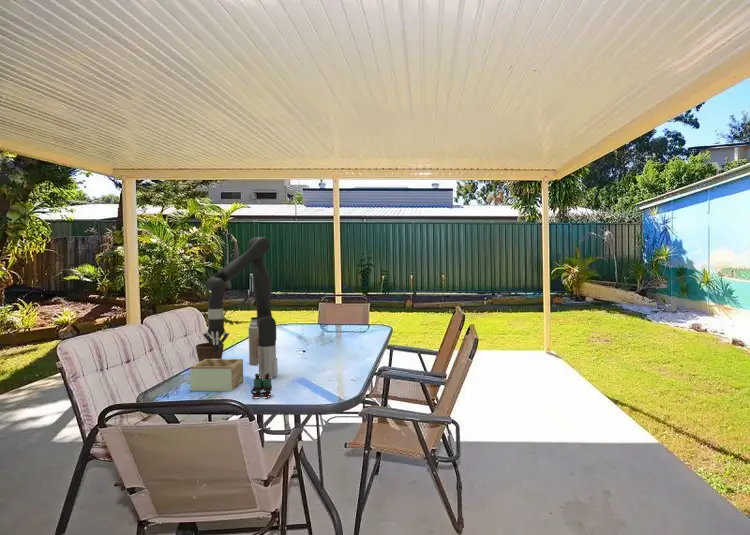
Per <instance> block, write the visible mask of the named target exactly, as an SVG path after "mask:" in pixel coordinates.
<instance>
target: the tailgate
mask: <svg viewBox="0 0 750 535" xmlns="http://www.w3.org/2000/svg"><path fill="white" fill-rule="evenodd" d="M190 385H191V386H190V387H191V389H190V390H191V391H192V392H232V391H233V390H232V371H231V366H194V365H192V366H190Z"/></svg>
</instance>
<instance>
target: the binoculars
mask: <svg viewBox="0 0 750 535" xmlns="http://www.w3.org/2000/svg"><path fill="white" fill-rule="evenodd" d="M259 376H260V375H259V373H255V374H254V379H253V387H252V389H251V390H250V394H251V395H252V398H253V397H259V396H260V397H262V398H263V397H268V396H271V395H272V390H273V387H272V378H269V373H268V374H265V378H263V379H262V378H259ZM269 394H271V395H269ZM261 395H262V396H261Z"/></svg>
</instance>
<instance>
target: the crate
mask: <svg viewBox="0 0 750 535" xmlns="http://www.w3.org/2000/svg"><path fill="white" fill-rule="evenodd" d="M243 361H244V359H243V358H222V359H205V360H203V361H201V362H199V361H198V363H196V364H194V365H193V366H231V371H232V391H234V388H235V389H236V388H237V387H238V386H240V385H242V384H243V382H244V362H243ZM239 384H240V385H239Z"/></svg>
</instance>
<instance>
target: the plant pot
mask: <svg viewBox="0 0 750 535" xmlns="http://www.w3.org/2000/svg"><path fill="white" fill-rule="evenodd" d="M224 347H225V344H224V342H223V343H221V344H220V351H219V352H215V351H214V350H213V344H210V343H209V342H202V343H199V344H198V343H197V344H196V345H195V350H196V351H195V352H196V354H197V360H198V363H199V362H201V361H203V360H205V359H223V354H224Z"/></svg>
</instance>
